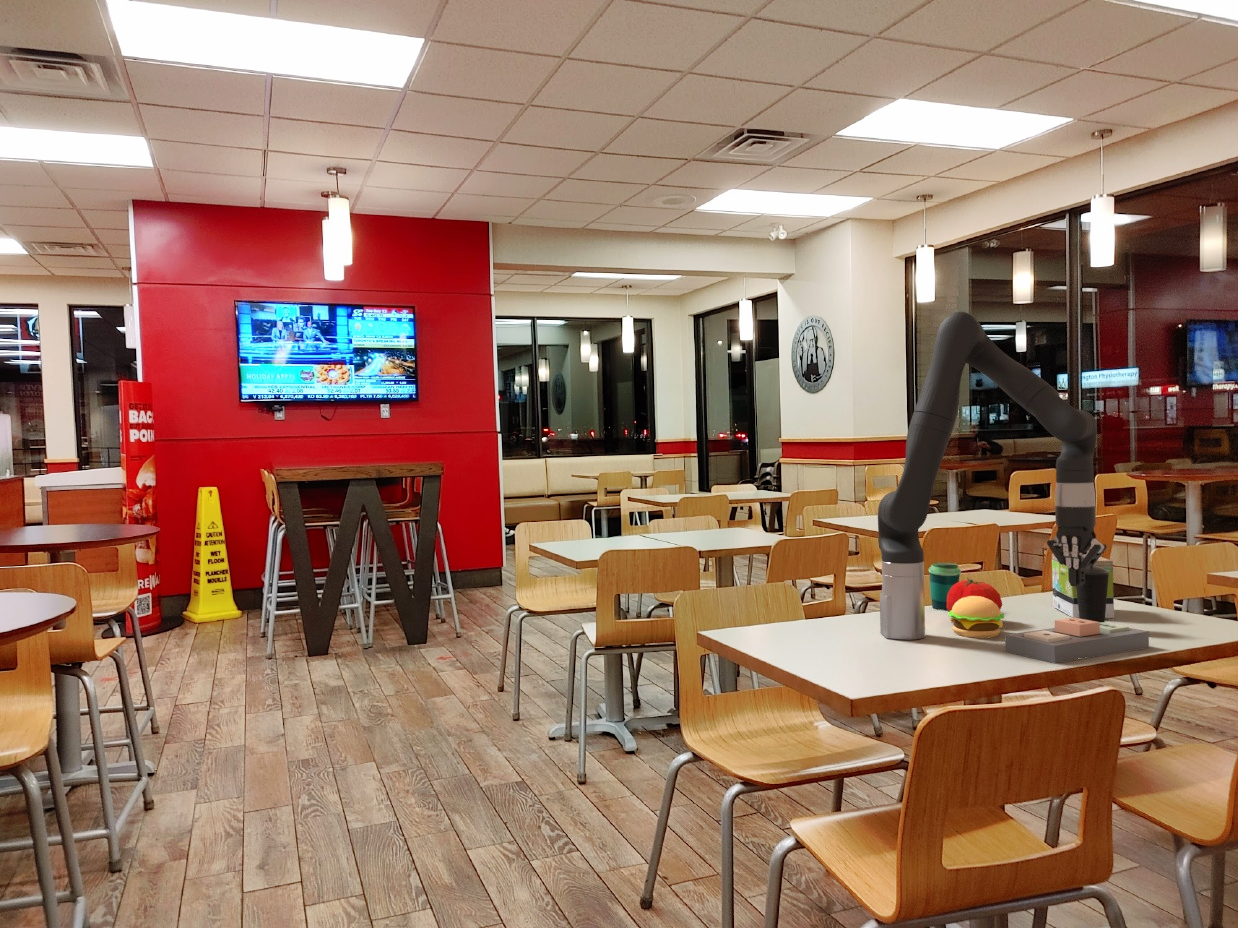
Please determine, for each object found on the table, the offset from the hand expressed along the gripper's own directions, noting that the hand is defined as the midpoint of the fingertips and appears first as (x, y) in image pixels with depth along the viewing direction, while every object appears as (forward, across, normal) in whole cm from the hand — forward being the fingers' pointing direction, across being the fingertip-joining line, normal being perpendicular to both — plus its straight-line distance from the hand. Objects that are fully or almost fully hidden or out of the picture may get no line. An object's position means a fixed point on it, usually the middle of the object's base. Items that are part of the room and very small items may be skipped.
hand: (1076, 586), depth 185 cm
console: (+13, 0, 0) cm, 13 cm away
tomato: (+14, +32, -4) cm, 35 cm away
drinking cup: (+14, +13, -21) cm, 28 cm away
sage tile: (+12, 0, -9) cm, 15 cm away
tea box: (+14, +27, -36) cm, 47 cm away
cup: (+14, +49, -12) cm, 52 cm away
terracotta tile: (+10, 0, 0) cm, 10 cm away
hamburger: (+14, +22, +6) cm, 26 cm away
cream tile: (+12, 0, +9) cm, 15 cm away
